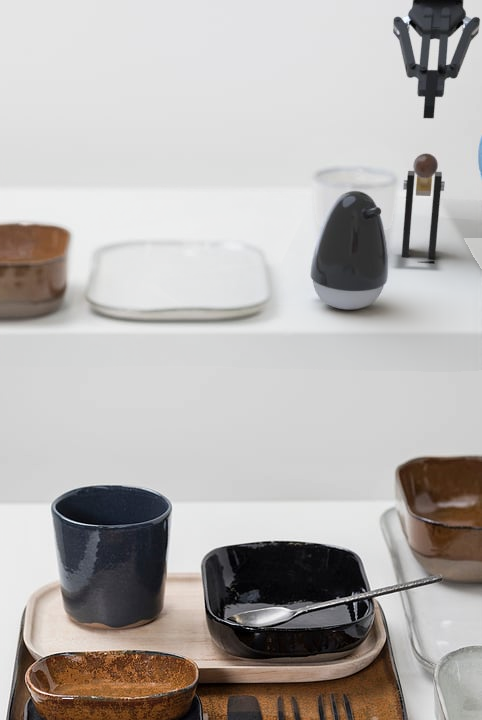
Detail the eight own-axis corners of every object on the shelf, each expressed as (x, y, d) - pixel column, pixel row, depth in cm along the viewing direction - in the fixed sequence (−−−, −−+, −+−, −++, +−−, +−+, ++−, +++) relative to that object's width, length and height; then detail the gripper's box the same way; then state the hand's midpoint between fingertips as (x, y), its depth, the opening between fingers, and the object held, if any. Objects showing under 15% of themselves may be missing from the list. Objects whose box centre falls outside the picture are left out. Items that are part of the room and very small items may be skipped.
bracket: (437, 270, 164) (445, 178, 159) (397, 269, 165) (403, 176, 160) (437, 259, 171) (445, 170, 166) (398, 257, 172) (405, 168, 167)
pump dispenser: (334, 321, 140) (344, 206, 133) (294, 295, 148) (301, 185, 141) (400, 310, 144) (413, 198, 137) (357, 285, 152) (367, 178, 145)
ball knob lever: (437, 174, 152) (439, 150, 152) (412, 173, 152) (414, 149, 152) (434, 199, 164) (435, 177, 165) (411, 198, 165) (413, 176, 165)
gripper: (480, 6, 167) (473, 130, 159) (395, 6, 170) (383, 128, 161) (485, -32, 161) (477, 95, 152) (396, -32, 163) (383, 93, 154)
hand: (428, 112), depth 157 cm, fingers closed
